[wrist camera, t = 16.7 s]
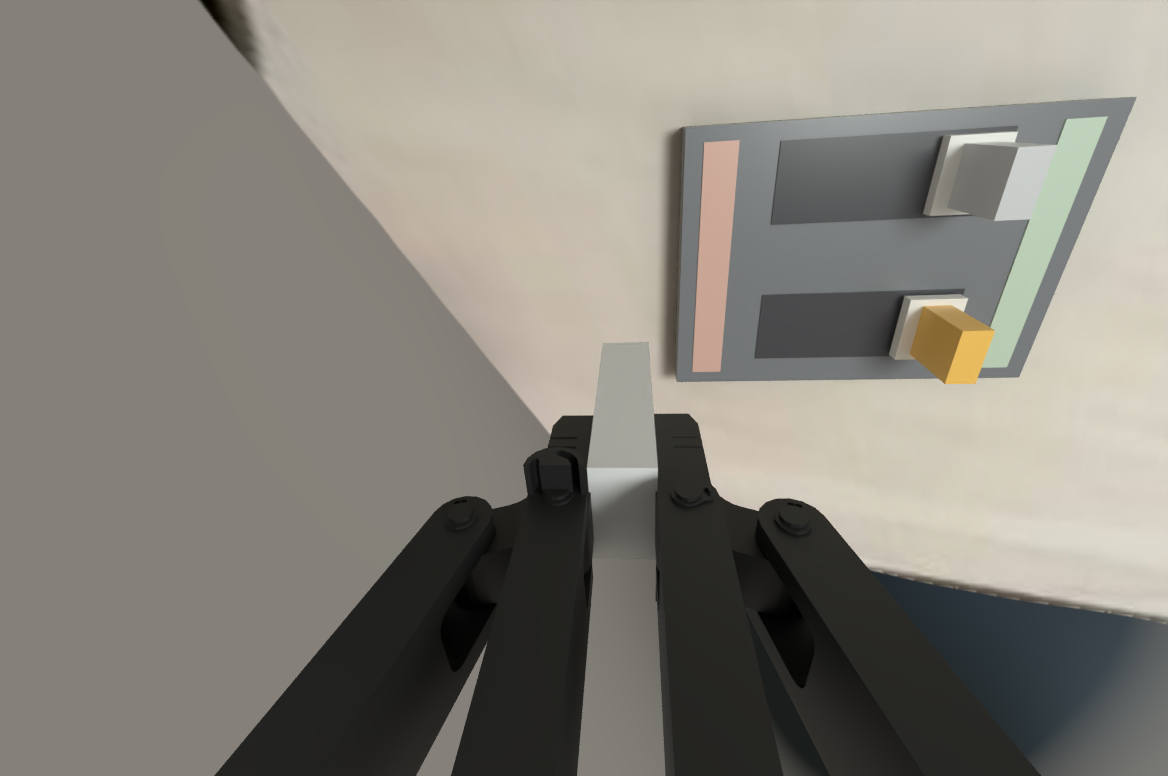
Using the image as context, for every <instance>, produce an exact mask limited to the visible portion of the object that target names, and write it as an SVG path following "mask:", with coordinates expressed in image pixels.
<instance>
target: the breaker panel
mask: <svg viewBox="0 0 1168 776" xmlns="http://www.w3.org/2000/svg"><path fill="white" fill-rule="evenodd" d="M1135 100H1136V97H1123V98H1102V99H1087V100H1072V101H1057V102H1043V103H1028V104H1013V105H998V106H984V107H969V108H954V109H939V110H925V111H910V112H895V113H880V114H866V115H851V116H836V117H821V118H807V119H792V120H777V121H763V122H748V123H733V124H718V125H704V126H689V127H682V158H681V189H680V220H679V251H678V282H677V312H676V343H675V374H676V380H677V382H701V381H778V380H854V379H931V378H937V377H936V376H935V375H934V374H933V373H931V372H930V371H929V370H928V369H927V368H926V367H924V366H923V365H922V364H921V363H920V362H918V361H917V360H894V359H893V358H892V357H891V356H890V355H889V352H890V349H891V345H892V341H893V337H894V334H895V330H896V326H897V322H898V319H899V315H900V311H901V307H902V304H903V300H904V296H916V295H949V294H961V295H963V296H965V297H967V298H968V301H967V304H966V307H965V310H964V313H966V314H968V315H970V316H971V317H973V318H975V319H976V320H978V321H980V322H982V323H983V324H985V325H987V326H988V327H990V328H992V329H994V330H995V333H994V335H993V338H992V341H991V344H990V346H989V349H988V352H987V354H986V357H985V360H984V362H983V365H982V368H981V370H980V373H979V376H978V378H1007V377H1019V376H1020V373H1021V371H1022V369H1023V366H1024V364H1025V361H1026V359H1027V357H1028V354H1029V352H1030V350H1031V347H1032V345H1033V342H1034V340H1035V338H1036V335H1037V333H1038V331H1039V328H1040V326H1041V323H1042V321H1043V319H1044V316H1045V314H1046V312H1047V309H1048V307H1049V304H1050V302H1051V300H1052V297H1053V295H1054V292H1055V290H1056V288H1057V285H1058V283H1059V281H1060V278H1061V276H1062V273H1063V271H1064V269H1065V266H1066V264H1067V262H1068V259H1069V257H1070V254H1071V252H1072V250H1073V247H1074V245H1075V243H1076V240H1077V238H1078V235H1079V233H1080V231H1081V228H1082V226H1083V223H1084V221H1085V219H1086V216H1087V214H1088V212H1089V209H1090V207H1091V204H1092V202H1093V200H1094V197H1095V195H1096V193H1097V190H1098V188H1099V185H1100V183H1101V181H1102V178H1103V176H1104V174H1105V171H1106V169H1107V166H1108V164H1109V162H1110V159H1111V157H1112V154H1113V152H1114V150H1115V147H1116V145H1117V143H1118V140H1119V138H1120V135H1121V133H1122V131H1123V128H1124V126H1125V124H1126V121H1127V119H1128V116H1129V114H1130V112H1131V109H1132V107H1133V105H1134V102H1135Z"/></svg>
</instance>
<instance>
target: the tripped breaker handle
mask: <svg viewBox="0 0 1168 776" xmlns="http://www.w3.org/2000/svg"><path fill="white" fill-rule="evenodd" d="M967 301H968V298H967V297H965V296H963V295H961V294H949V295H916V296H904V300H903V304H902V307H901V311H900V315H899V319H898V322H897V326H896V330H895V334H894V337H893V341H892V345H891V349H890V352H889V355H890V356H891V357H892V358H893V359H894V360H917V361H918V362H920V363H921V364H922V365H923V366H924V367H926V368H927V369H928V370H929V371H930V372H931V373H933V374H934V375H935V376H936V377H937V378H939V379H940V380H941V381H942V382H943V383H944V384H976V381H977V378H978V376H979V373H980V370H981V368H982V365H983V362H984V360H985V357H986V354H987V352H988V349H989V346H990V344H991V341H992V338H993V335H994V333H995V330H994V329H992V328H990V327H988V326H987V325H985V324H983V323H982V322H980V321H978V320H976V319H975V318H973V317H971V316H970V315H968V314H966V313H964V310H965V307H966V304H967Z"/></svg>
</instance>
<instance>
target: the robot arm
mask: <svg viewBox="0 0 1168 776" xmlns="http://www.w3.org/2000/svg"><path fill="white" fill-rule="evenodd" d="M523 466H524V473H525V479H526V485H527V492H528V496H527V498H525V499H524V500H522V501H520V502H518V503H515V504H512V505H509V506H504V507H500V508H495V509H492V508H491V506H490V505H489V503H488V502H487V501H486V500H484V499H481V498H478V497H471V496H465V497H460V498H456V499H453V500H451V501H449V502H447V503H445V504H443V505H442V506H441V507H440V508H438V509H437V510H436V511H435V512H434V514H433V515H432V516H431V517H430V518H429V519H428V521H427V522H426V523H425V524H424V525H423V527H422V528H421V529H420V530H419V531H418V533H417V534H416V535H415V536H414V537H413V538H412V540H411V541H410V542H409V543H408V544H407V546H406V547H405V548H404V549H403V550H402V552H401V553H400V554H399V555H398V556H397V558H396V559H395V560H394V561H393V563H392V564H391V565H390V566H389V567H388V568H387V570H386V571H385V572H384V573H383V575H382V576H381V577H380V578H379V579H378V581H377V582H376V583H375V584H374V585H373V586H372V588H371V589H370V590H369V591H368V592H367V594H366V595H365V596H364V597H363V598H362V600H361V601H360V602H359V603H358V604H357V606H356V607H355V608H354V609H353V610H352V612H351V613H350V614H349V615H348V616H347V618H346V619H345V620H344V621H343V622H342V624H341V625H340V626H339V627H338V628H337V630H336V631H335V632H334V633H333V634H332V636H331V637H330V638H329V639H328V640H327V641H326V643H325V644H324V645H323V646H322V648H321V649H320V650H319V651H318V652H317V654H316V655H315V656H314V657H313V658H312V659H311V661H310V662H309V663H308V664H307V666H306V667H305V668H304V669H303V670H302V671H301V673H300V674H299V675H298V676H297V678H296V679H295V680H294V681H293V682H292V684H291V685H290V686H289V687H288V688H287V689H286V691H285V692H284V693H283V694H282V696H281V697H280V698H279V699H278V700H277V701H276V703H275V704H274V705H273V706H272V707H271V709H270V710H269V711H268V712H267V714H266V715H265V716H264V717H263V718H262V719H261V721H260V722H259V723H258V724H257V725H256V727H255V728H254V729H253V730H252V731H251V733H250V734H249V735H248V736H247V737H246V739H245V740H244V741H243V742H242V743H241V745H240V746H239V747H238V748H237V749H236V751H235V752H234V753H233V754H232V755H231V757H230V758H229V759H228V760H227V761H226V763H225V764H224V765H223V766H222V767H221V768H220V770H219V771H218V772H217V773H216V774H215V776H416V774H417V773H418V771H419V769H420V767H421V765H422V763H423V762H424V759H425V758H426V756H427V754H428V752H429V750H430V748H431V746H432V745H433V743H434V741H435V739H436V737H437V735H438V733H439V731H440V730H441V728H442V726H443V724H444V722H445V720H446V718H447V716H448V715H449V712H450V711H451V709H452V707H453V705H454V703H455V701H456V700H457V698H458V696H459V694H460V692H461V690H462V688H463V686H464V684H465V683H466V681H467V678H468V677H469V675H470V673H471V671H472V669H473V668H474V666H475V664H476V662H477V660H478V658H479V656H480V654H481V653H482V651H483V649H484V647H485V645H486V643H487V646H486V650H485V654H484V657H483V661H482V664H481V668H480V672H479V675H478V679H477V683H476V686H475V690H474V694H473V697H472V701H471V705H470V708H469V712H468V716H467V719H466V723H465V727H464V730H463V734H462V738H461V741H460V745H459V749H458V752H457V756H456V760H455V763H454V767H453V771H452V774H451V776H577V768H578V756H579V743H580V731H581V719H582V707H583V693H584V682H585V670H586V657H587V644H588V633H589V621H590V608H591V596H592V584H593V570H592V555H593V557H594V558H612V559H651V560H652V559H653V560H656V601H657V610H658V631H659V649H660V650H659V651H660V671H661V692H662V712H663V732H664V751H665V752H664V753H665V774H666V776H783V772H782V767H781V763H780V759H779V754H778V750H777V745H776V741H775V737H774V732H773V728H772V724H771V719H770V715H769V710H768V706H767V702H766V697H765V693H764V689H763V684H762V680H761V676H760V671H759V667H758V663H757V658H756V654H755V649H754V645H753V640H752V636H751V632H750V628H749V623H748V619H747V614H746V610H745V607H746V609H747V612H748V615H749V617H750V619H751V621H752V623H753V625H754V626H755V629H756V630H757V632H758V635H759V637H760V638H761V640H762V642H763V644H764V646H765V648H766V650H767V652H768V654H769V656H770V658H771V660H772V662H773V664H774V666H775V668H776V670H777V672H778V674H779V675H780V678H781V680H782V682H783V683H784V686H785V688H786V690H787V692H788V693H789V696H790V698H791V699H792V701H793V703H794V705H795V707H796V709H797V711H798V713H799V715H800V717H801V719H802V721H803V723H804V725H805V727H806V729H807V731H808V733H809V735H810V737H811V739H812V741H813V743H814V745H815V747H816V749H817V751H818V752H819V755H820V756H821V758H822V760H823V762H824V764H825V766H826V768H827V770H828V772H829V774H830V776H1041V775H1040V774H1039V773H1038V772H1037V771H1036V769H1035V768H1034V767H1033V766H1032V764H1031V763H1030V762H1029V761H1028V760H1027V758H1026V757H1025V756H1024V755H1023V754H1022V752H1021V751H1020V750H1019V749H1018V748H1017V746H1016V745H1015V744H1014V743H1013V742H1012V740H1011V739H1010V738H1009V737H1008V736H1007V734H1006V733H1005V732H1004V731H1003V730H1002V728H1000V726H999V725H998V724H997V722H996V721H995V720H994V719H993V718H992V716H991V715H990V714H989V713H988V712H987V710H986V709H985V708H984V707H983V706H982V704H981V703H980V702H979V701H978V700H977V699H976V697H975V696H974V695H973V694H972V692H971V691H970V690H969V689H968V688H967V686H966V685H965V684H964V683H963V682H962V680H961V679H960V678H959V677H958V676H957V674H956V673H955V672H954V671H953V670H952V668H951V667H950V666H949V665H948V664H947V662H946V661H945V660H944V659H943V658H942V657H941V655H940V654H939V653H938V652H937V650H936V649H935V648H934V647H933V646H932V644H931V643H930V642H929V641H928V640H927V639H926V637H925V636H924V635H923V634H922V632H921V631H920V630H919V629H918V628H917V626H916V625H915V624H914V623H913V622H912V620H911V619H910V618H909V617H908V616H907V615H906V613H905V612H904V611H903V610H902V608H901V607H900V606H899V605H898V604H897V603H896V601H895V600H894V599H893V598H892V596H891V595H890V594H889V593H888V592H887V591H886V589H885V588H884V587H883V586H882V585H881V583H880V582H879V581H878V580H877V579H876V577H875V576H874V575H873V574H872V573H871V571H870V570H869V569H868V568H867V567H866V565H865V564H864V563H863V562H862V561H861V559H860V558H859V557H858V556H857V555H856V553H855V552H854V551H853V550H852V549H851V547H850V546H849V545H848V544H847V543H846V541H845V540H844V539H843V538H842V537H841V535H840V534H839V533H838V532H837V531H836V529H835V528H834V527H833V526H832V525H831V523H830V522H829V521H828V520H827V519H826V517H825V516H824V515H823V514H821V513H820V512H819V511H818V510H817V509H816V508H814V507H812V506H810V505H808V504H806V503H804V502H802V501H798V500H793V499H774V500H771V501H768V502H766V503H765V504H764V505H763V506H762V507H761V508H760V509H759V511H756V510H752V509H748V508H744V507H740V506H737V505H734V504H732V503H730V502H728V501H726V500H724V499H723V498H722V497H720V496H719V494H718V492H717V490H716V489H715V488H714V487H713V486H712V484H711V481H710V477H709V472H708V468H707V463H706V458H705V454H704V449H703V445H702V440H701V435H700V431H699V426H698V423H697V422H696V421H695V420H694V419H693V418H692V417H691V416H690V415H689V414H654V409H653V396H652V382H651V369H650V356H649V342H639V343H603V347H602V354H601V362H600V370H599V378H598V385H597V393H596V401H595V409H594V416H562V417H561V418H560V419H559V420H558V421H557V422H556V423H555V424H554V426H553V429H552V433H551V437H550V440H549V444H548V448H546V449H543V450H540V451H537V452H535V453H534V454H532V455H531V456H530V457H528V458H527V460H526V462H525V463H524V465H523ZM487 641H488V642H487Z"/></svg>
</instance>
